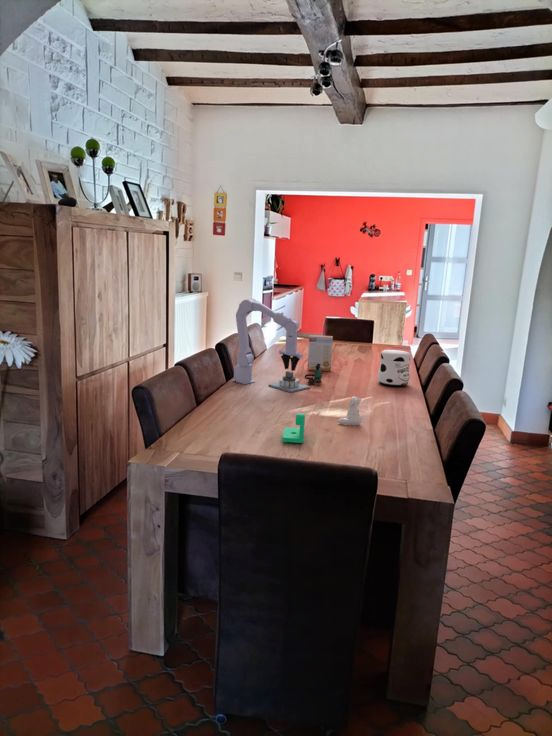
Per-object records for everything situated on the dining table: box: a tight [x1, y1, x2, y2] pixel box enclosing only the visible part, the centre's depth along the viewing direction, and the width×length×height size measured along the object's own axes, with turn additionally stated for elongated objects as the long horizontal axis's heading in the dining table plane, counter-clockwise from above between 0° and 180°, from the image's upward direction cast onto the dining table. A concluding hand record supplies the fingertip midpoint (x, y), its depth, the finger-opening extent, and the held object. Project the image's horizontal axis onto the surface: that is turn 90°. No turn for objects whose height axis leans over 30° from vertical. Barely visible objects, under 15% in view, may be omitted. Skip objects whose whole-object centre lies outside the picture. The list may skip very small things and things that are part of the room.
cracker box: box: [307, 334, 334, 372], centre depth 321 cm, size 14×6×21 cm, turn 84°
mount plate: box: [268, 381, 310, 394], centre depth 280 cm, size 16×14×1 cm
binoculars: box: [304, 364, 324, 386], centre depth 290 cm, size 9×11×10 cm
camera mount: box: [282, 413, 306, 444], centre depth 203 cm, size 12×8×10 cm, turn 175°
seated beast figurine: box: [337, 396, 363, 427], centre depth 224 cm, size 10×9×12 cm
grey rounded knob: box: [282, 370, 296, 381], centre depth 279 cm, size 7×7×7 cm
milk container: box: [377, 349, 411, 387], centre depth 295 cm, size 17×17×18 cm
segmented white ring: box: [278, 377, 300, 388], centre depth 279 cm, size 10×10×3 cm
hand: (289, 369), depth 278 cm, fingers open, 4 cm apart
